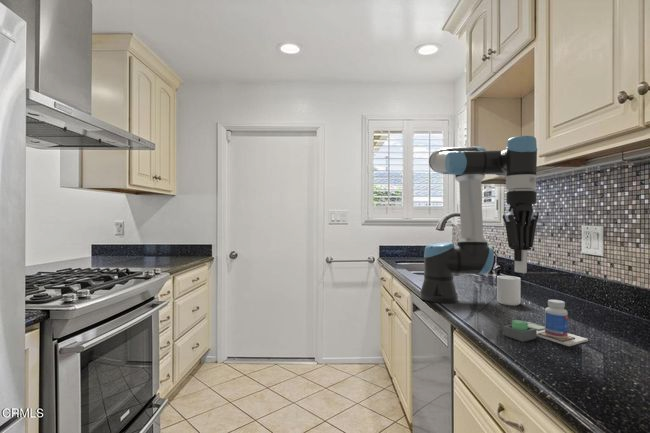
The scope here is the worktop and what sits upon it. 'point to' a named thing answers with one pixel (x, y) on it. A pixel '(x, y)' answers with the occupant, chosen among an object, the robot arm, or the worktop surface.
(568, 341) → the white rectangular board
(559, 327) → the pill bottle
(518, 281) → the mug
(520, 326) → the button
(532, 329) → the button frame
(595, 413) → the worktop surface
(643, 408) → the worktop surface
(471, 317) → the worktop surface
